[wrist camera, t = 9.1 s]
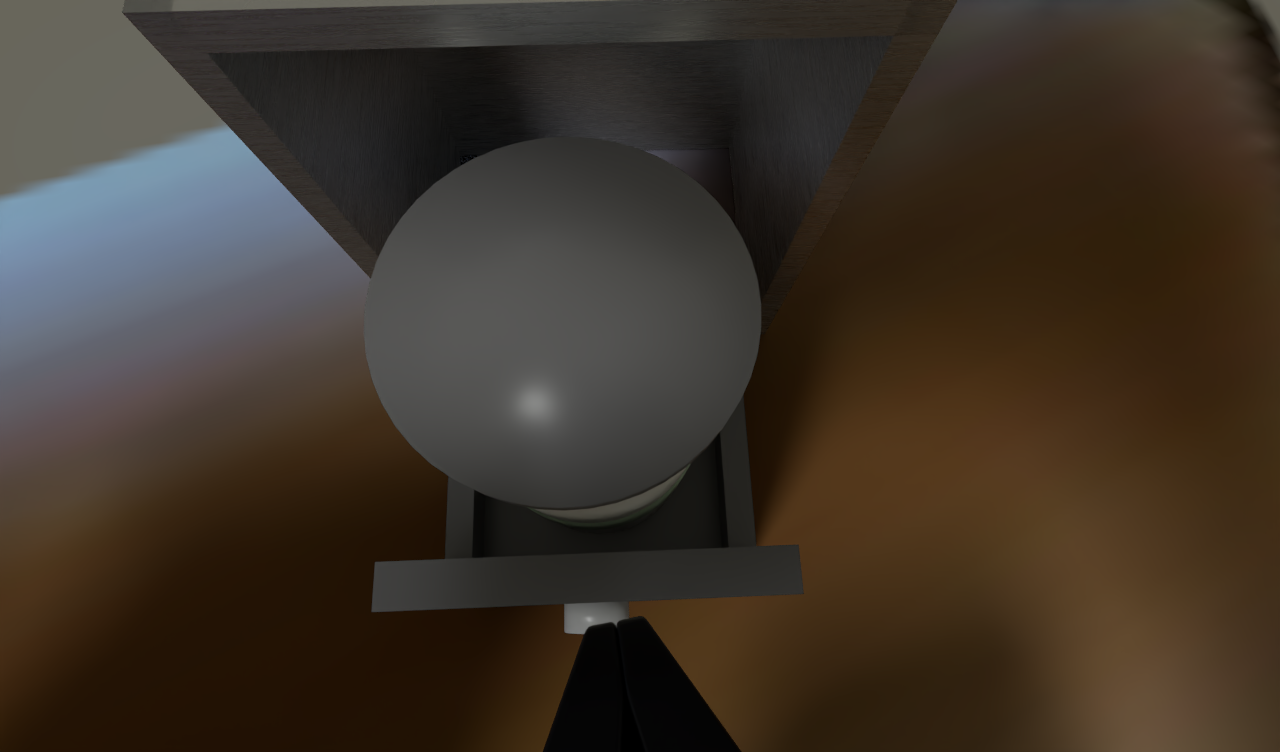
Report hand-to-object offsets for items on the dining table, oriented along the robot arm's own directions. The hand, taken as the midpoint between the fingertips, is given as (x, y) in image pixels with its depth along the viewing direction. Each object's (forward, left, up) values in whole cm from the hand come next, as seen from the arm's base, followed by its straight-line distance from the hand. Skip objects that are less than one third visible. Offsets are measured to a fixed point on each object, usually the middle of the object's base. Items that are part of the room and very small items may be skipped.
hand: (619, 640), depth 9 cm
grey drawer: (+4, +1, -12) cm, 13 cm away
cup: (+5, +1, -11) cm, 12 cm away
